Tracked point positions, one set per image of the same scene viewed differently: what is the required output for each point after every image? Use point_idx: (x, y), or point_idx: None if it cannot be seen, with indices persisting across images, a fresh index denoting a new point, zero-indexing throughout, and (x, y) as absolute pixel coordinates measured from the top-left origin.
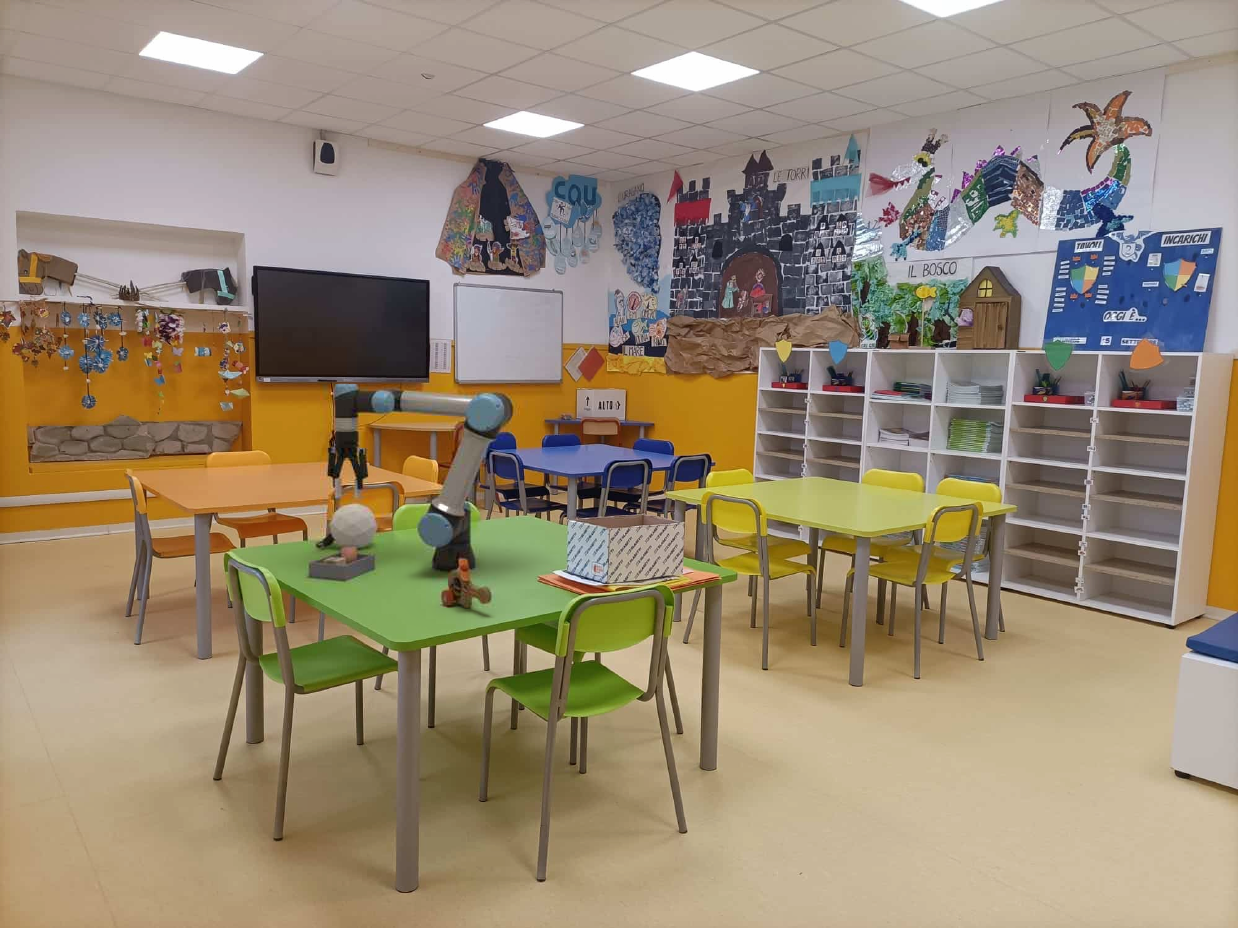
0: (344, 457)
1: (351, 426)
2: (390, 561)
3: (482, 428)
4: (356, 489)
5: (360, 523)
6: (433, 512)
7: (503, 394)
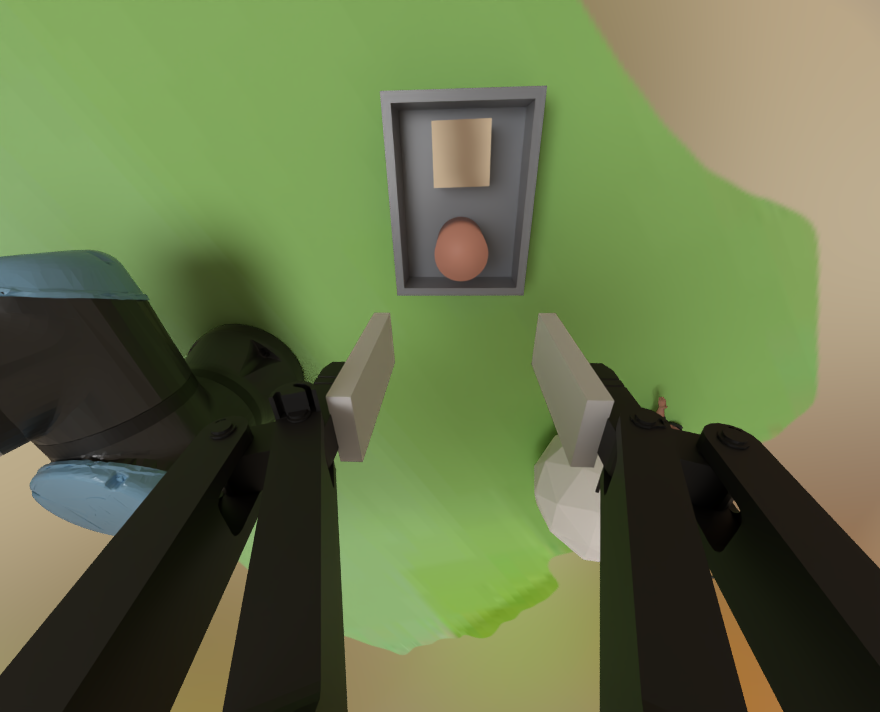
0: None
1: None
2: (419, 364)
3: None
4: (354, 348)
5: (562, 478)
6: None
7: None
